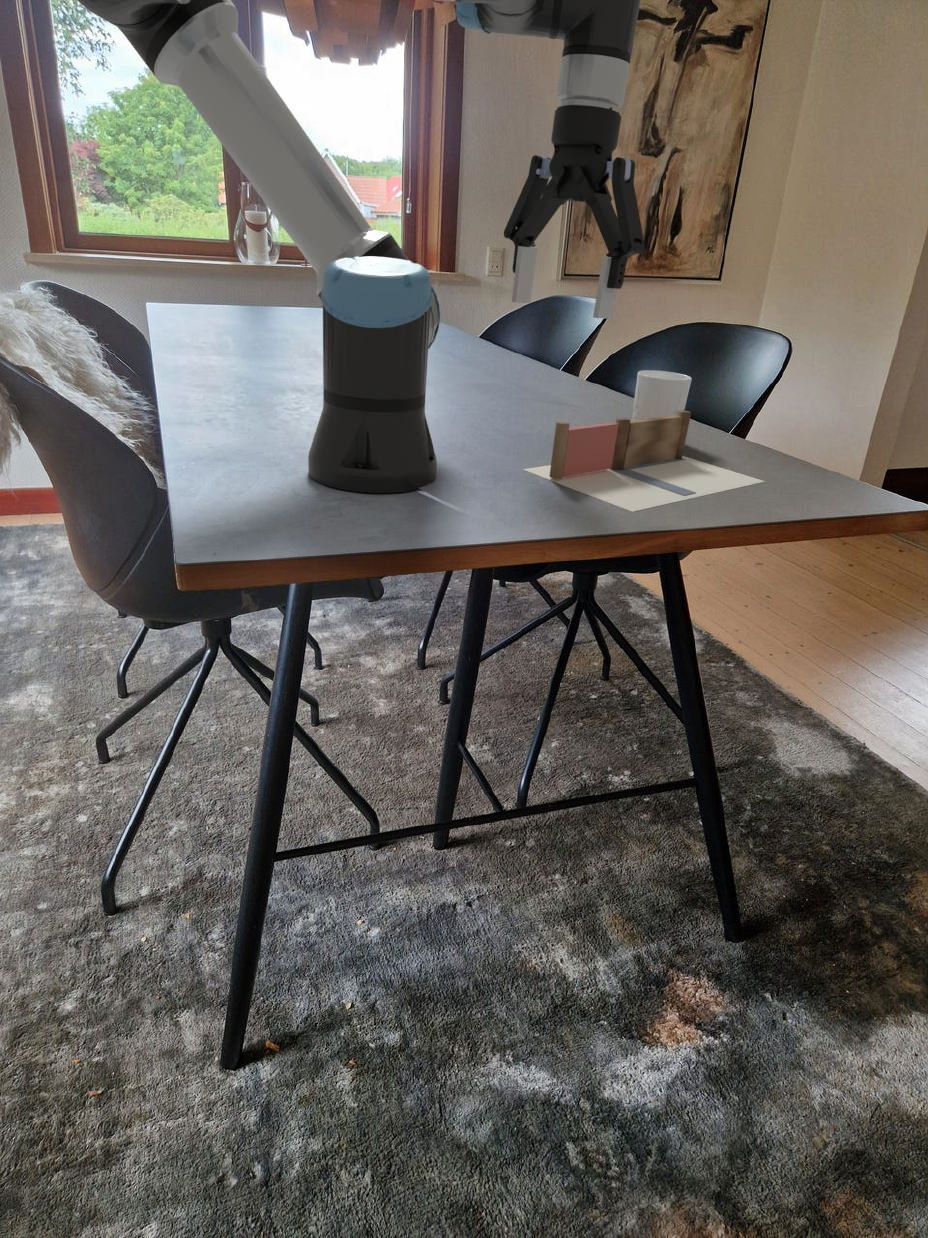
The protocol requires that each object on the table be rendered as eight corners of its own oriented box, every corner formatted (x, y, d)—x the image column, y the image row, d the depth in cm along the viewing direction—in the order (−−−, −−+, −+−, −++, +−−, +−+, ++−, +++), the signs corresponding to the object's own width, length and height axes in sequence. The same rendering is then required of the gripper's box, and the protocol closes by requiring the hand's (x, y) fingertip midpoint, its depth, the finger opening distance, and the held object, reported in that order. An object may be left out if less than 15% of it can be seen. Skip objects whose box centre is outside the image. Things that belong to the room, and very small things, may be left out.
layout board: (631, 515, 88) (632, 510, 88) (522, 472, 100) (522, 468, 100) (764, 484, 104) (765, 480, 103) (656, 450, 116) (657, 447, 116)
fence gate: (555, 479, 96) (563, 425, 93) (546, 475, 97) (553, 422, 94) (613, 469, 102) (621, 418, 99) (603, 466, 103) (611, 415, 100)
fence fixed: (615, 471, 102) (624, 421, 99) (605, 467, 103) (613, 418, 101) (684, 459, 111) (693, 412, 108) (674, 455, 112) (683, 409, 109)
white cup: (639, 432, 126) (650, 368, 121) (686, 443, 122) (699, 376, 117) (618, 440, 120) (629, 373, 115) (666, 451, 116) (680, 381, 112)
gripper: (702, 111, 83) (660, 325, 92) (531, 115, 98) (510, 297, 108) (661, 98, 78) (621, 325, 87) (488, 104, 94) (470, 295, 103)
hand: (559, 310), depth 98 cm, fingers open, 13 cm apart
